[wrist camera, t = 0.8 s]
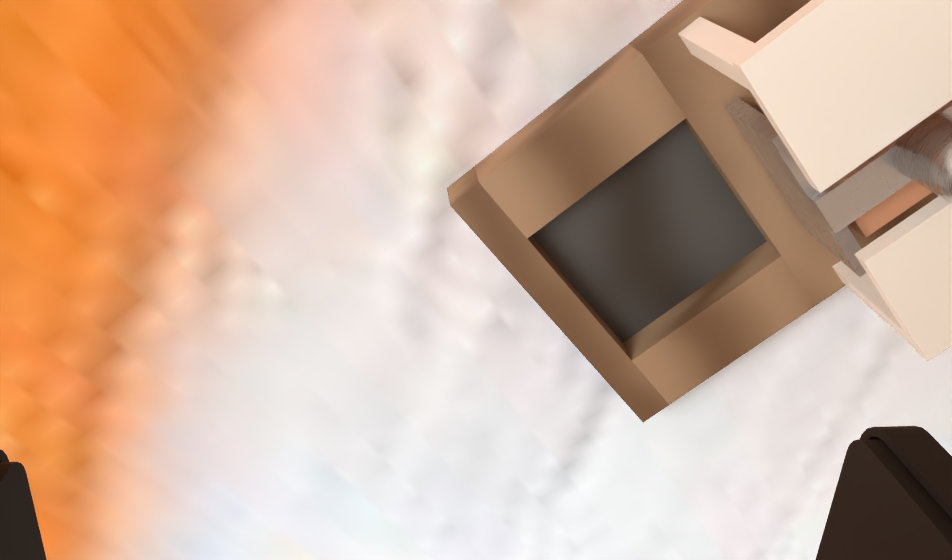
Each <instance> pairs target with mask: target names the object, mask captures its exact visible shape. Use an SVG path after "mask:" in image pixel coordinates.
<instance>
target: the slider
mask: <svg viewBox="0 0 952 560" xmlns="http://www.w3.org/2000/svg"><path fill="white" fill-rule="evenodd" d="M725 108H726V110H727V111H728V113H729V114H730V116H731V117H732V119H733V120H734V122H735V123H736V125H737V126H738V128H739V129H740V131H741V132H742V134H743V135H744V137H745V138H746V140H747V141H748V143H749V144H750V146H751V147H752V149H753V150H754V152H755V153H756V155H757V156H758V158H759V159H760V161H761V162H762V164H763V165H764V167H765V169H766V170H767V172H768V173H769V175H770V176H771V178H772V179H773V181H774V182H775V184H776V185H777V187H778V188H779V190H780V191H781V193H782V194H783V196H784V197H785V199H786V200H787V202H788V203H789V205H790V206H791V208H792V209H793V211H794V212H795V214H796V215H797V217H798V218H799V220H800V221H801V223H802V224H803V226H804V227H805V229H806V230H807V232H809V233H810V234H811V235H812V236H813V237H814V238H815V239H817V240H818V241H819V242H820V243H821V244H822V245H823V246H825V247H826V248H827V249H828V250H829V251H830V252H831V253H833V254H834V255H835V256H836V257H837V258H838V259H839V260H841V261H842V262H843V263H844V264H845V265H846V266H848V267H849V268H850V269H851V270H852V271H853V272H854V273H856V274H857V275H858V276H859V277H861V276H863V275H864V274H865V273H866V271H865V270H864V268H863V267H862V265H861V264H860V262H859V260H858V259H857V257H856V256H855V253H857V252H858V251H859V250H861V247H860V245H859V244H858V242H857V241H856V239H855V237H854V236H853V234H852V233H851V231H850V230H849V228H848V225H849V224H850V223H852V222H853V221H855V220H856V219H858V218H859V217H861V216H862V215H863V214H865V213H866V212H868V211H869V210H871V209H872V208H873V207H875V206H876V205H878V204H879V203H881V202H882V201H884V200H885V199H886V198H888V197H889V196H891V195H892V194H894V193H895V192H896V191H898V190H899V189H901V188H902V187H904V186H905V185H907V184H908V183H909V182H911V181H912V180H913V181H914V182H916V183H918V184H919V185H921V186H923V187H924V188H926V189H928V190H929V191H931V192H933V193H934V194H936V195H938V196H939V197H941V198H943V199H944V200H946V201H948V202H949V203H951V204H952V100H951V101H949V102H948V103H947V104H945V105H944V106H942V107H941V108H940V109H938V110H937V111H935V112H934V113H933V114H931V115H930V116H928V117H927V118H925V119H924V120H923V121H921V122H920V123H918V124H917V125H916V126H914V127H913V128H911V129H910V130H909V131H907V132H906V133H904V134H903V135H902V136H900V137H899V138H897V139H896V140H894V141H893V142H892V143H890V144H889V145H887V146H886V147H885V148H883V149H882V150H880V151H879V152H878V153H876V154H875V155H873V156H872V157H870V158H869V159H868V160H866V161H865V162H863V163H862V164H861V165H859V166H858V167H856V168H855V169H854V170H852V171H851V172H849V173H848V174H847V175H845V176H844V177H842V178H841V179H839V180H838V181H837V182H835V183H834V184H832V185H831V186H830V187H828V188H827V189H825V190H824V191H823V192H821V193H819V192H818V191H817V190H815V189H814V188H813V187H812V186H811V185H810V184H809V182H808V181H807V179H806V178H805V176H804V174H803V173H802V171H801V170H800V168H799V167H798V165H797V164H796V162H795V160H794V159H793V157H792V156H791V154H790V153H789V151H788V149H787V148H786V146H785V145H784V143H783V142H782V140H781V139H780V137H779V135H778V134H777V132H776V131H775V129H774V128H773V126H772V124H771V123H770V121H769V120H768V118H767V117H766V116H765V115H763V114H762V113H760V112H759V111H757V110H756V109H754V108H753V107H751V106H750V105H748V104H747V103H745V102H744V101H742V100H741V99H739V98H738V97H737V98H736V99H735V100H733V101H732V102H731V103H730V104H728V105H727V106H726V107H725Z"/></svg>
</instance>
